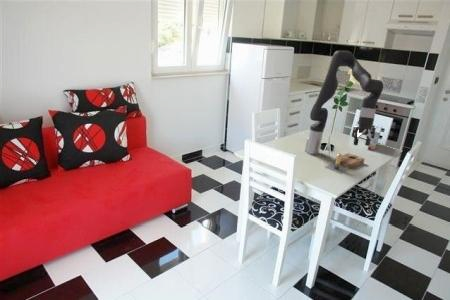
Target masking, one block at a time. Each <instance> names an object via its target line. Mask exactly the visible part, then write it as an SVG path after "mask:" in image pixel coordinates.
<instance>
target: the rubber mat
mask: <svg viewBox="0 0 450 300" xmlns="http://www.w3.org/2000/svg"><path fill="white" fill-rule="evenodd" d="M334 166H335V163H331V164H328V165H326V166H324V168H325V169H326V170H327V169H328V170H330V171H332V172H335V173H337V174H340V175H342V174H344V173H346V172H348V171H349V169H348V168H346V167H343V166H341V165H340V166H339V169H338V170H337V169H334Z"/></svg>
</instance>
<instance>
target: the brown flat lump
mask: <svg viewBox="0 0 450 300" xmlns="http://www.w3.org/2000/svg"><path fill="white" fill-rule="evenodd" d="M335 162H336V158H335V159H334V163H335ZM364 162H365V158H364V157H360V156H358V155H355V154H352V153H350V152H348V153H345V154H342V158H341V162H340V166H341V167H343V168H346V169H350V170H352V169H354V168H357V167H358V166H362V165H363V164H364Z"/></svg>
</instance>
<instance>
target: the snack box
mask: <svg viewBox="0 0 450 300" xmlns="http://www.w3.org/2000/svg"><path fill="white" fill-rule="evenodd" d="M373 128H376V129H375V135H374V138H372V139H371V140H370V144H369V146H367V150H368V151H372V152H375V150H376V148H377V146H378V143H379V138H380V135H381V133H382V128H383V126H381V125H374V127H373Z"/></svg>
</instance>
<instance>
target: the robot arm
mask: <svg viewBox="0 0 450 300" xmlns="http://www.w3.org/2000/svg"><path fill="white" fill-rule="evenodd" d="M340 67H347V68H349V69H351V75H352V77H353V78H354V79H355V81H356V82H357V83H359V85H360V88H361V89H362V90H363V92H365V93H370V94H369V96H364V98H363V100H362V105H361V109H360V110H359V111H360V112H359V117H358V126H356V125H354V126H353V127H352V128H353V129H352V132H351V137H352V138H353V146H358V144H359V139H360V137H362V136H365V137H366V139H365V143H364V145H365V146H366V147H368V146H369V144H370V140H371V139H372V138H374V135H375V129H376V128H374V127H373V125H374V122H375V117H376V108H377V104H378V101H379V98H380V97H381V94H382V92H383V90H384V83H383V82H382V81H381V80H379V79H375V78H374V79H373V78H372V75H371V74H370V72H368V71H367V70H366V69H365V68H364V67H363V66H362V65H361V64H360V62H359V61H358V59H357V58H356V57H355V55H354V54H353V53H352V51H349V50H336V51H335V52H333V55H332V57H331V60H330V64H329V67H328V70H327V73H326V76H325V79H324V81H323V83H322V86H321V89H320V91H319V93H318V96H317V99H316V101H315V102H314V104H313V106H312V108H311V110H310V113H309V114H310V115H309V118H310V120H311V121H313V122H314V123H313V124H310V128H309V133H308V138H306V143H305V147H304V148H305V149H304V152H305V153H307V154H308V155H309V154H310V155H315V156H316V155H319V154H320V150H321V144H322V142H323V141H322V140H323V134H324V130H325V128H326V125H327V120H328V116H329V110H328V109H327V107H323V106H324V105H325V104H326V103H327V102H328V101H329V100H331V99H332V98H333V97H334V96H335V94H336V92H337V90H338V86H339V84H338V83H339V82H338V78H337V73H338V70H339V68H340Z"/></svg>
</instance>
